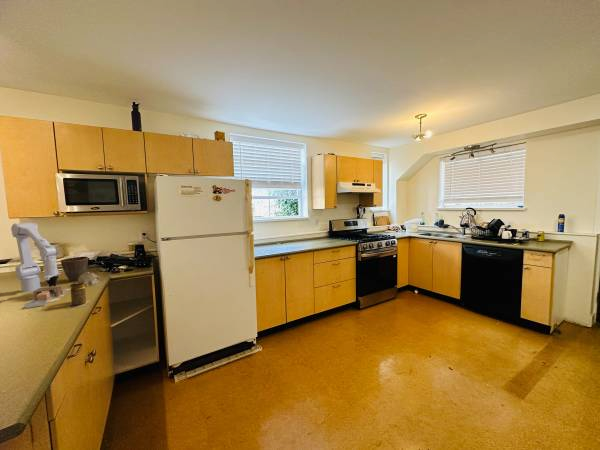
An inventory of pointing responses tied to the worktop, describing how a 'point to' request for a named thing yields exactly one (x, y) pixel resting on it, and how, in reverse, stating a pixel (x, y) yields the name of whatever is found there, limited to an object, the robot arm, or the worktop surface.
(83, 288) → the condiment
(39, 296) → the block
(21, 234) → the robot arm
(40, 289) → the tunnel deck
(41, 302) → the slider frame
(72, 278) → the plant pot
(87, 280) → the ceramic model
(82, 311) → the worktop surface
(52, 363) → the worktop surface
